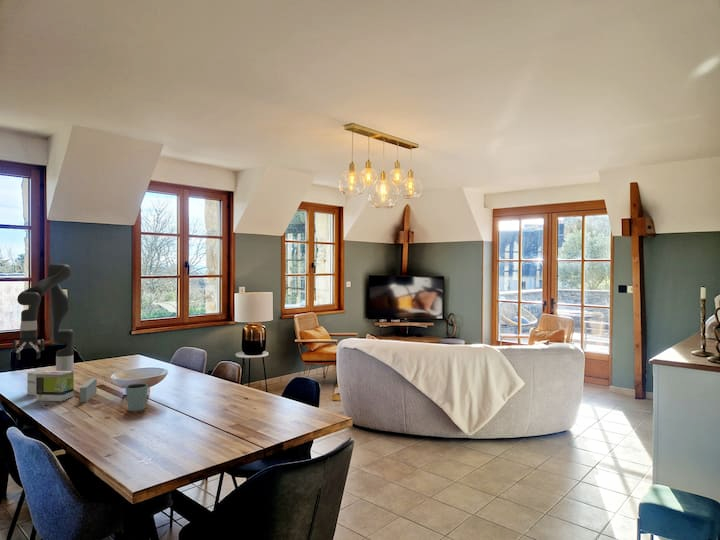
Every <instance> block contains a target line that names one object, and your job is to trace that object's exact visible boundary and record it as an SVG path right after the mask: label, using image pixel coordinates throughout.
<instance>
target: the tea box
mask: <svg viewBox="0 0 720 540" xmlns="http://www.w3.org/2000/svg"><path fill="white" fill-rule="evenodd" d="M45 371H46V370H45ZM74 387H75V385H74V370H73V371H56V370H47V371H46V372H43V373H39V374H36V396H35V397H36V401H40V402H41V401H44V402H64V401H66V399H67V400H69V399H68V398H70V399H72V398H74V392H75V391H74V390H75V389H74ZM71 397H72V398H71ZM63 400H64V401H63Z"/></svg>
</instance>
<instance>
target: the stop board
mask: <svg viewBox="0 0 720 540" xmlns="http://www.w3.org/2000/svg"><path fill="white" fill-rule="evenodd" d="M97 379H98V378H96V377H95V378H93V377H91V378H89V380H87V381H86V382H85V383H84V384H82V385H81V386H80V387H79V403H80V402H82V403H88V402H89V400H90V399H91V398H92V397H93V396H94V395H95V394H96V393H97V391H98V390H97V387H98V385H97V381H98V380H97Z"/></svg>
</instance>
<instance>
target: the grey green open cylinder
mask: <svg viewBox="0 0 720 540" xmlns="http://www.w3.org/2000/svg"><path fill="white" fill-rule="evenodd" d="M148 386H149V385H148V384H147V383H142V382H140V383H139V382H138V383H133V384H129V385H126V386H125V392H126V402H127V410H128V411H129V412H140V411H139V410H141V411H144V410H146V409H147V398H148V397H147V396H148ZM145 408H146V409H145Z"/></svg>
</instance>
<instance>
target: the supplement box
mask: <svg viewBox="0 0 720 540" xmlns="http://www.w3.org/2000/svg"><path fill="white" fill-rule="evenodd" d="M43 372H46V370H39V369H38V370H33V371H28V372H27V376H26V377H27V378H26V379H27V385H26V387H27V388H26V390H27V392H26V395H28V396H29V395H31V396H35V397H36V374H39V373H43Z"/></svg>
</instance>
